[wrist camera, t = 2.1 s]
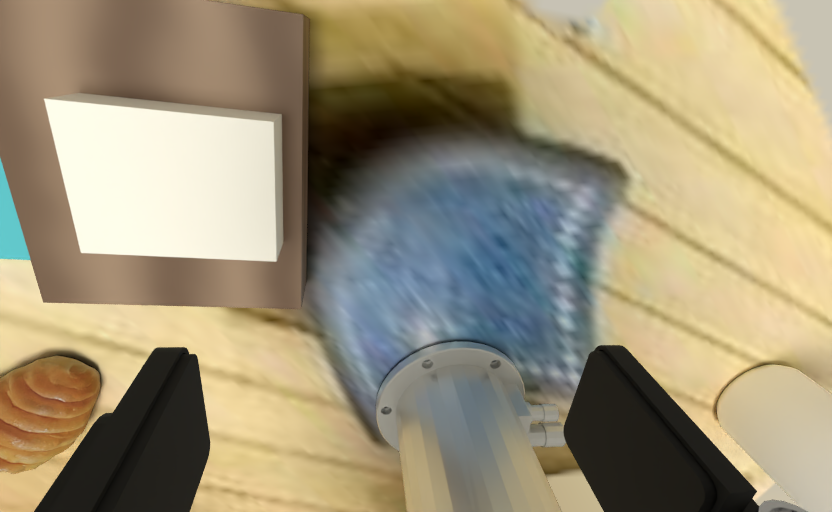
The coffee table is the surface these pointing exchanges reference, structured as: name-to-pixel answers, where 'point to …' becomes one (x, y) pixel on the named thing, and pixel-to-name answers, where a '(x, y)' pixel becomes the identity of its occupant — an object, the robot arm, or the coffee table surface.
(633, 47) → the coffee table surface
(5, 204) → the mat
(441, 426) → the robot arm
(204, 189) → the white block
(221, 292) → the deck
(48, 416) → the pastry
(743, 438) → the alcohol
